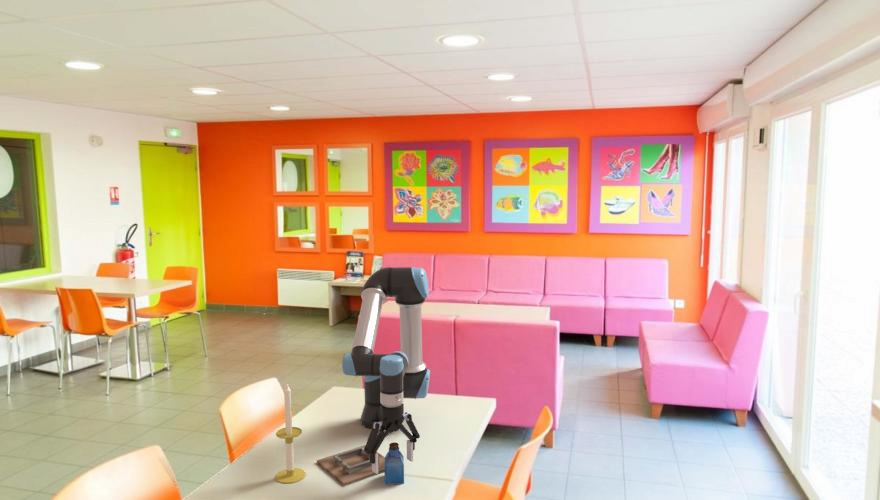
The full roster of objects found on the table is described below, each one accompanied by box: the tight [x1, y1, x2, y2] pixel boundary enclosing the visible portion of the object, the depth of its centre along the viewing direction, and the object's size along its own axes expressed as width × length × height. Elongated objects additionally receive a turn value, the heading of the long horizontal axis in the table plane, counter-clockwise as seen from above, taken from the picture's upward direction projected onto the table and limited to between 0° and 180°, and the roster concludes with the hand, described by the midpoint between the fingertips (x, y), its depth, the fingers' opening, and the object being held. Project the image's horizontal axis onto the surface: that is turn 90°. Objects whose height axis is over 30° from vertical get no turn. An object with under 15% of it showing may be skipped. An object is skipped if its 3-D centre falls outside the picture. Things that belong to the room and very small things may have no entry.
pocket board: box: [316, 444, 385, 487], centre depth 204 cm, size 20×20×3 cm
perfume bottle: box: [384, 442, 405, 485], centre depth 194 cm, size 6×6×12 cm
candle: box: [274, 383, 307, 484], centre depth 195 cm, size 10×10×32 cm
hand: (392, 466), depth 194 cm, fingers open, 13 cm apart
